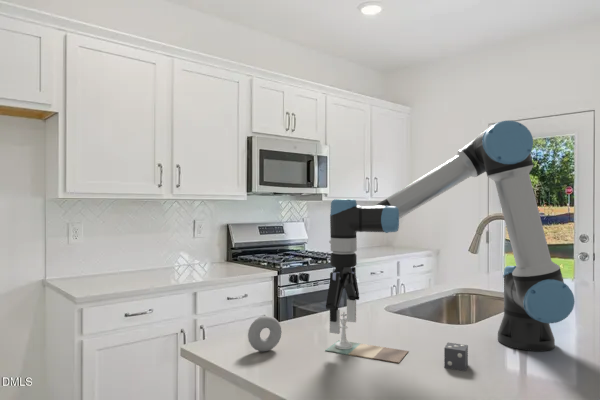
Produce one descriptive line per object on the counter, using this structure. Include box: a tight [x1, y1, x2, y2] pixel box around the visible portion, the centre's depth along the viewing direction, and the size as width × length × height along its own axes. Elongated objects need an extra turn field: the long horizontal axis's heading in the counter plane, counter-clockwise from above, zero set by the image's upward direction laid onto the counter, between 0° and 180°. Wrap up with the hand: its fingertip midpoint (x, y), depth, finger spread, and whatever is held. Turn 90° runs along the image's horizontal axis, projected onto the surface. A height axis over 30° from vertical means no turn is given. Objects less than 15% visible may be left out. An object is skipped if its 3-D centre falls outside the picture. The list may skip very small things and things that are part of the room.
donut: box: [247, 315, 282, 353], centre depth 125 cm, size 10×4×10 cm, turn 118°
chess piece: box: [335, 311, 352, 349], centre depth 128 cm, size 5×5×10 cm
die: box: [443, 342, 469, 372], centre depth 113 cm, size 5×5×5 cm
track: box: [325, 339, 409, 364], centre depth 125 cm, size 21×10×1 cm, turn 62°
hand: (343, 327), depth 128 cm, fingers open, 12 cm apart
